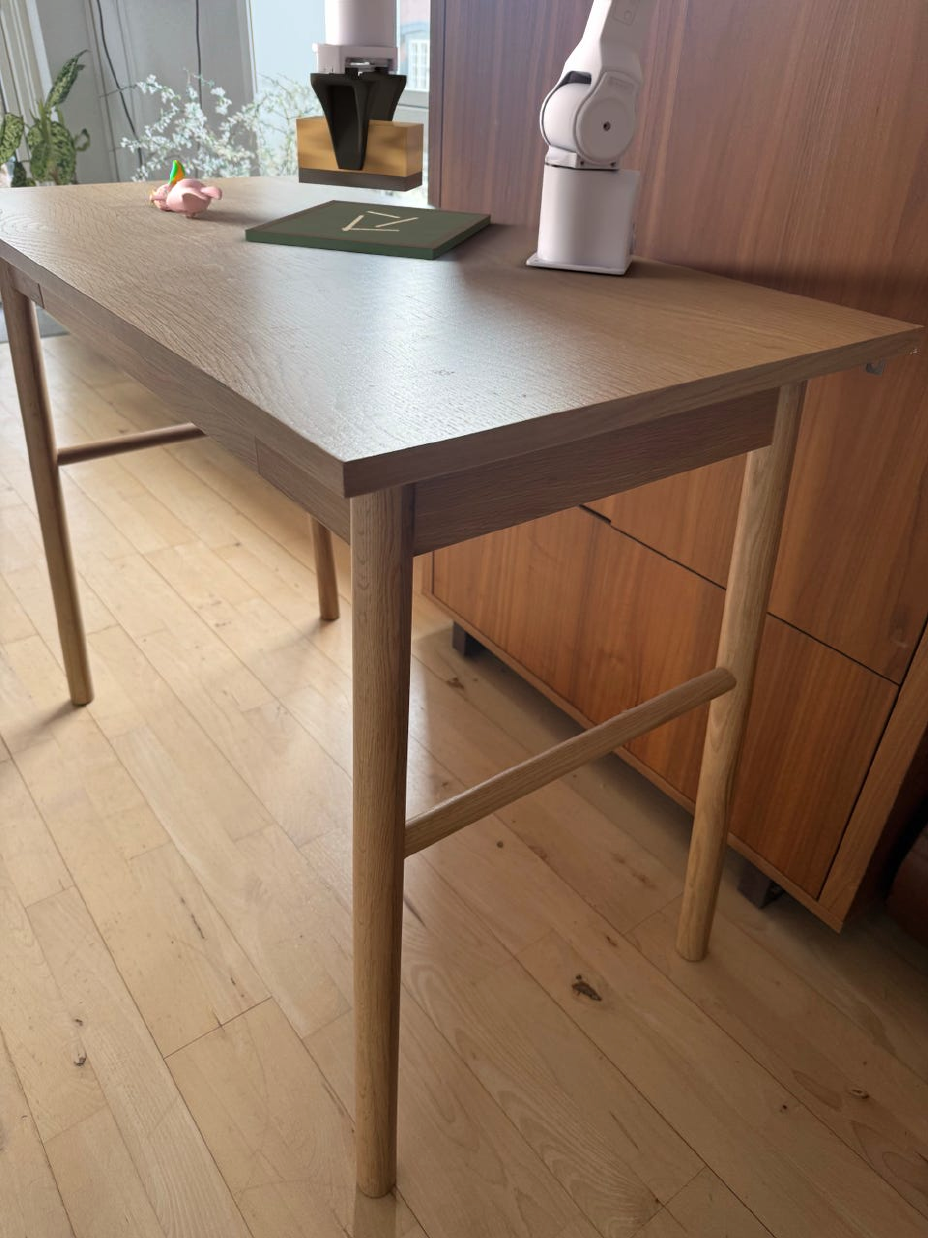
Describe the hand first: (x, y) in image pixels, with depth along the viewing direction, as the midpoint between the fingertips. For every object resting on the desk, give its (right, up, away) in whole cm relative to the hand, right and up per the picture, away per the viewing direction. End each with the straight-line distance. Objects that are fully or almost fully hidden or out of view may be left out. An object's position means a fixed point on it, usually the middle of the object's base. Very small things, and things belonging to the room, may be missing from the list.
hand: (361, 166), depth 83 cm
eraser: (0, -1, +1) cm, 1 cm away
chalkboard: (0, +3, +20) cm, 20 cm away
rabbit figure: (-22, +5, +23) cm, 32 cm away
